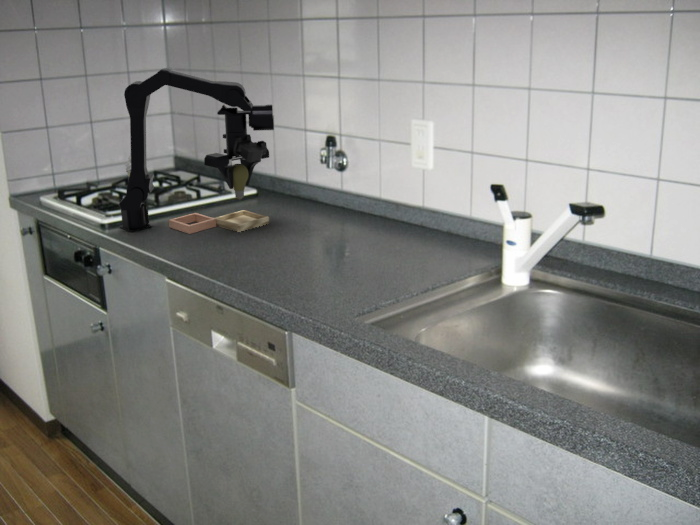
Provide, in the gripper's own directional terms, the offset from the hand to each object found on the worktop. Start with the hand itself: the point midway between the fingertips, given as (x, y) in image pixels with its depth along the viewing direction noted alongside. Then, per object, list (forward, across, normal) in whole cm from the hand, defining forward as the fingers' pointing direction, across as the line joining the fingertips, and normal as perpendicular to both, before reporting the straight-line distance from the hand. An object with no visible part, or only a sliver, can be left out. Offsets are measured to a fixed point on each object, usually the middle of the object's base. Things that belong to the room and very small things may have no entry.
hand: (239, 186), depth 213 cm
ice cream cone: (+11, -1, +50) cm, 51 cm away
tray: (+11, 0, 0) cm, 11 cm away
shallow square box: (+11, -10, +8) cm, 17 cm away
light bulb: (+4, 0, 0) cm, 4 cm away
